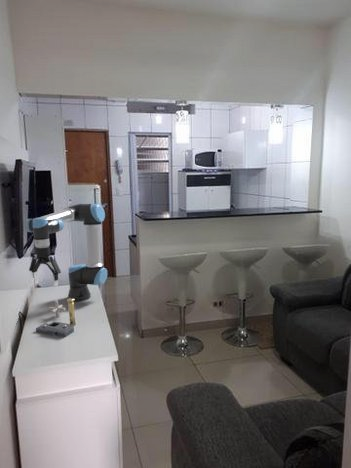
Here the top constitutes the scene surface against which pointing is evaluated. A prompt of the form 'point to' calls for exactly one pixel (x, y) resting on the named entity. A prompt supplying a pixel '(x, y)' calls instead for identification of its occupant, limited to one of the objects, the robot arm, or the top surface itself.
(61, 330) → the square socket block
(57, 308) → the white crossed rod jack
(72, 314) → the pin
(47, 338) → the top surface
